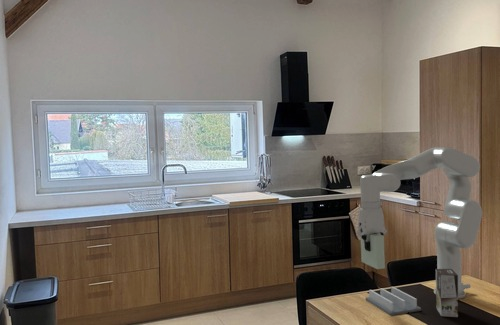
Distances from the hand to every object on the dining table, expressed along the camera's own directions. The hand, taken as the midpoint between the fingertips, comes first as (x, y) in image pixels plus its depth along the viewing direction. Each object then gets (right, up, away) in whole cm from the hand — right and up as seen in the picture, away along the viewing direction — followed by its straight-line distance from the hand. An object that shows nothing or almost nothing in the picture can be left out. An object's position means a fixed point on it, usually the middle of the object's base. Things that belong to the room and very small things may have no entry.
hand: (372, 249), depth 180 cm
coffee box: (+27, -23, -7) cm, 36 cm away
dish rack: (+9, -23, +2) cm, 25 cm away
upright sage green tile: (0, -6, 0) cm, 6 cm away
